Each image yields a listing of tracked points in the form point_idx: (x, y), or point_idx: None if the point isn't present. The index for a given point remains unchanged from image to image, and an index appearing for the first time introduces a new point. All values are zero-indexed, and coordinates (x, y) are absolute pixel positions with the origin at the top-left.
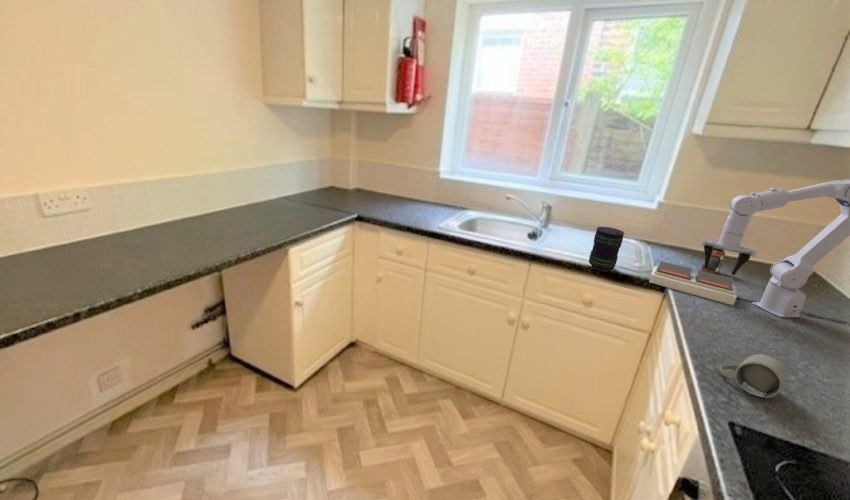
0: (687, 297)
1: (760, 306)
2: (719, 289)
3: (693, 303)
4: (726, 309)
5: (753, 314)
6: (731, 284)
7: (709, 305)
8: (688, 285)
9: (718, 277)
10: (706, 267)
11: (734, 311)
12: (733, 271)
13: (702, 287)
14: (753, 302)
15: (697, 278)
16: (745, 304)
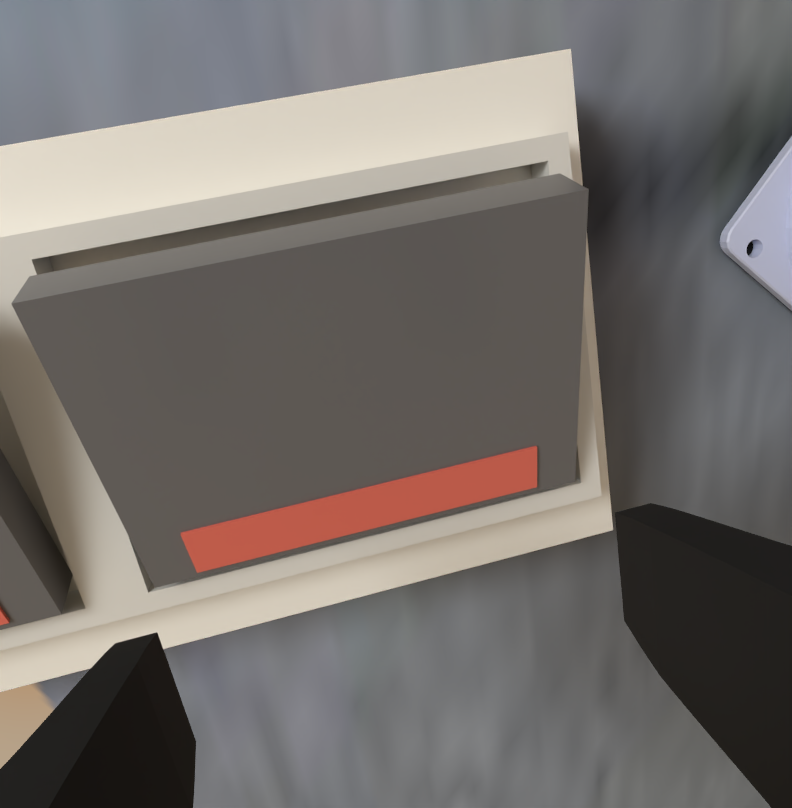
0: (203, 715)
1: (786, 299)
2: (442, 528)
3: (289, 798)
4: (525, 654)
5: None
6: (568, 379)
7: (400, 707)
8: None
9: (382, 317)
10: (184, 766)
11: (581, 633)
12: (669, 686)
13: (266, 593)
14: (736, 240)
15: (138, 543)
16: (660, 330)
